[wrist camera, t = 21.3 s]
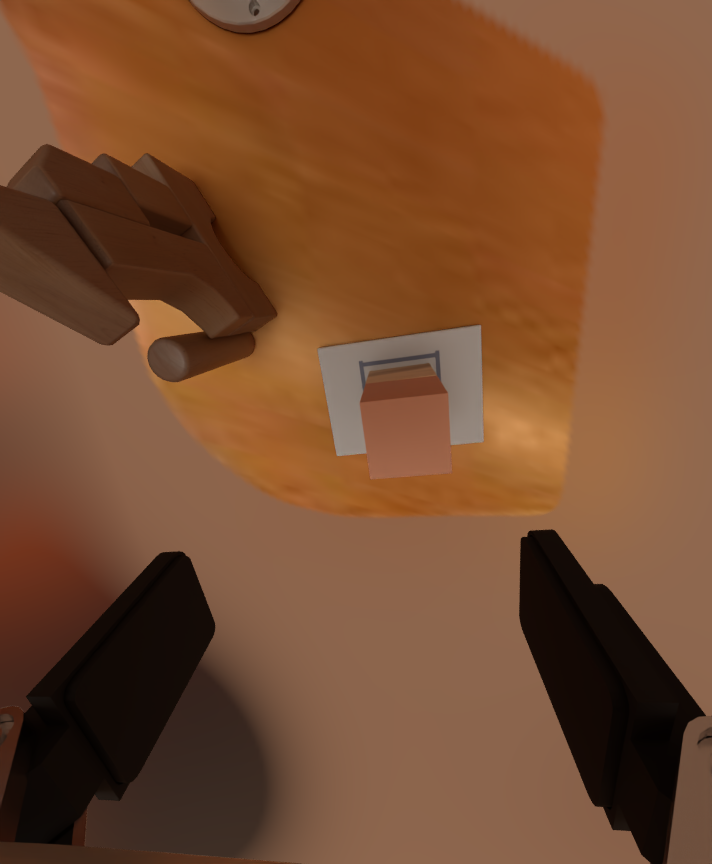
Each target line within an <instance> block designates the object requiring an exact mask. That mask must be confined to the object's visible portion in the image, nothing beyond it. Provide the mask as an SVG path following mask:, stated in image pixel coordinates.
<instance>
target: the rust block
mask: <svg viewBox="0 0 712 864" xmlns="http://www.w3.org/2000/svg"><path fill="white" fill-rule="evenodd" d="M360 410H361V417H362V424H363V431H364V438H365V445H366V452H367V460H368V467H369V474H370V479H382V478H395V477H407V476H420V475H433V474H446V473H452V461H451V441H450V421H449V401H448V392H447V390H446V389H445V387H444V386H443V384H442V382H441V381H440V379H439V378H438V376H428V377H420V378H411V379H403V380H394V381H385V382H377V383H368V384H366V385H365V388H364V391H363V394H362V397H361V400H360Z"/></svg>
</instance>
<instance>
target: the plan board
mask: <svg viewBox="0 0 712 864" xmlns="http://www.w3.org/2000/svg"><path fill="white" fill-rule="evenodd" d="M317 350H318V355H319V361H320V366H321V372H322V377H323V383H324V388H325V394H326V399H327V404H328V410H329V415H330V421H331V426H332V432H333V437H334V443H335V448H336V454H337V456H343V455H353V454H364V453H367V452H366V445H365V438H364V431H363V424H362V417H361V410H360V400H361V397H362V394H363V391H364V388H365V383H366V380H367V377H368V374H369V371H375V370H382V369H389V368H396V367H403V366H411V365H418V364H425V363H430V365H431V367H432V368H433V370H434V371H435V373H436V375H437V376H438V378H439V379H440V381H441V382H442V384H443V386H444V387H445V389H446V390H447V392H448V401H449V421H450V441H451V445H457V444H468V443H478V442H484V435H483V392H482V349H481V325H472V326H465V327H458V328H451V329H444V330H438V331H431V332H424V333H417V334H410V335H403V336H396V337H389V338H382V339H375V340H368V341H361V342H354V343H347V344H340V345H334V346H327V347H320V348H318V349H317Z"/></svg>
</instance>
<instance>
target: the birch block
mask: <svg viewBox="0 0 712 864" xmlns="http://www.w3.org/2000/svg"><path fill="white" fill-rule="evenodd" d="M428 376H437V375H436V373H435V371H434V370H433V368H432V367H431V365H430V363H425V364H418V365H411V366H403V367H396V368H389V369H382V370H375V371H369V374H368V377H367V380H366V383H365V385H366V384H368V383H377V382H385V381H394V380H403V379H411V378H420V377H428Z"/></svg>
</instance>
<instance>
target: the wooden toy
mask: <svg viewBox="0 0 712 864" xmlns="http://www.w3.org/2000/svg"><path fill="white" fill-rule="evenodd" d="M214 220H215V215H214V214H213V212H212V211H211V209H210V208H209V206H208V204H207V203H206V201H205V200H204V198H203V196H202V195H201V193H200V192H199V190H198V189H197V187H196V185H195V184H194V182H193V181H192V180H190V179H188V178H187V177H185V176H184V175H182V174H180V173H179V172H177V171H175V170H174V169H172V168H171V167H169V166H167V165H166V164H164V163H163V162H161V161H159V160H158V159H156V158H154V157H153V156H151V155H150V154H148V153H146V154H144V155H143V156H142V157H141V158H140V159H139V160H138V161H137V162H136V163H135V164H134V165H133V166H132V167H130V166H128V165H126V164H124V163H122V162H120V161H119V160H117V159H115V158H113V157H111V156H109V155H107V154H101V155H99V156H98V157H97V159H96V160H95V161H94V162H93V163H92V164H90V163H88V162H86V161H84V160H82V159H80V158H77V157H75V156H73V155H71V154H69V153H67V152H65V151H62V150H60V149H58V148H56V147H54V146H51V145H48V144H46V145H43V146H41V147H40V148H39V149H38V150H37V151H36V152H35V153H34V154H33V155H32V157H31V158H30V159H29V160H28V161H27V162H26V163H25V164H24V165H23V167H22V168H21V169H20V170H19V171H18V172H17V173H16V174H15V175H14V177H13V178H12V179H11V180H10V181H9V183H8V186H7V187H4V186H1V185H0V292H2V293H4V294H6V295H8V296H9V297H11V298H13V299H15V300H17V301H19V302H21V303H23V304H25V305H27V306H29V307H30V308H32V309H34V310H36V311H38V312H40V313H42V314H44V315H46V316H48V317H50V318H52V319H53V320H55V321H57V322H59V323H61V324H63V325H65V326H67V327H69V328H71V329H72V330H74V331H76V332H78V333H80V334H82V335H84V336H86V337H88V338H90V339H92V340H94V341H95V342H97V343H99V344H102V345H113V344H114V343H116V342H117V341H118V340H120V339H121V338H122V337H123V336H125V335H126V334H127V333H128V332H130V331H131V330H133V329H134V328H135V327H136V326H138V325H139V321H140V319H139V315H138V314H137V312H136V311H135V310H134V308H133V307H132V306H131V304H130V303H129V302H128V300H161V301H163V302H165V303H167V304H169V305H171V306H173V307H175V308H177V309H179V310H181V311H182V312H183V313H185V314H186V315H187V316H188V317H189V318H190V319H191V320H192V321H194V322H195V323H196V324H197V325H198V326H199V327H200V328H201V329H202V330H203V331H204V332H197V333H191V334H184V335H177V336H170V337H163V338H159V339H157V340H155V341H154V342H153V343H152V345H151V346H150V347H149V350H148V362H149V366H150V367H151V369H152V371H153V372H154V373H155V374H156V375H157V376H158V377H160V378H161V379H163V380H166V381H170V382H180V381H182V380H185V379H188V378H191V377H193V376H196V375H199V374H202V373H204V372H207V371H210V370H213V369H215V368H218V367H221V366H224V365H226V364H229V363H232V362H235V361H237V360H240V359H243V358H245V357H248V356H249V355H250V354H251V353H252V352H253V350H254V345H255V344H254V339H253V337H252V335H251V333H250V332H252V331H256V330H257V329H259V328H260V327H262V326H263V325H265V324H266V323H268V322H269V321H270V320H272V319H273V318H275V317H276V316H277V313H276V312H275V310H274V308H273V307H272V305H271V304H270V302H269V300H268V299H267V297H266V296H265V294H264V293H263V291H262V289H261V288H260V286H259V285H258V284H257V283H256V282H254V281H252V280H251V279H249V278H248V277H247V276H246V275H245V274H244V273H243V272H242V271H241V270H240V269H239V268H238V267H237V265H236V264H235V263H234V262H233V261H232V260H231V258H230V257H229V255H228V254H227V253H226V251H225V250H224V248H223V247H222V246H221V244H220V242H219V240H218V239H217V237H216V235H215V233H214V231H213V229H212V226H211V223H212V222H213V221H214Z"/></svg>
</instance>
